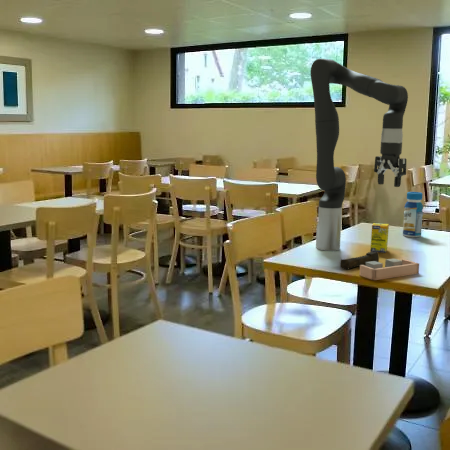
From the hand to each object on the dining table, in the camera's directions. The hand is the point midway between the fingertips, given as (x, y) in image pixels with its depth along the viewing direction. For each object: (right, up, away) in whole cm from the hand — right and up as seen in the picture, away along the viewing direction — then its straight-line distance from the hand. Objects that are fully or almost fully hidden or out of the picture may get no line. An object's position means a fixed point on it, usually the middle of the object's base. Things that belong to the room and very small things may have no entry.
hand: (388, 185), depth 211 cm
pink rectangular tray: (-5, -31, -17) cm, 36 cm away
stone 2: (-2, -31, -12) cm, 33 cm away
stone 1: (-10, -31, -16) cm, 37 cm away
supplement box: (+2, -25, +19) cm, 32 cm away
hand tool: (-12, -30, -4) cm, 32 cm away
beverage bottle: (+25, -20, +51) cm, 61 cm away
